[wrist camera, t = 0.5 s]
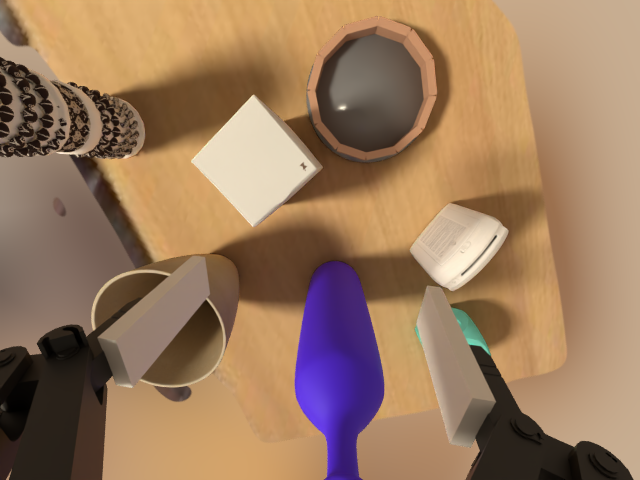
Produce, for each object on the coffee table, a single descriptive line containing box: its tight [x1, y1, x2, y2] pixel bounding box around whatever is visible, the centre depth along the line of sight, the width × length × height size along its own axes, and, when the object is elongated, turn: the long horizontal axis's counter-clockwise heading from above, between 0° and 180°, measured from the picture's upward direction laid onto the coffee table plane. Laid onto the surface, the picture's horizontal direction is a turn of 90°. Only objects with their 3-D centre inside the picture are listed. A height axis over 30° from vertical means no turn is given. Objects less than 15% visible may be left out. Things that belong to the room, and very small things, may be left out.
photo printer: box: [410, 203, 509, 291], centre depth 36 cm, size 10×4×12 cm, turn 145°
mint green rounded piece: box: [415, 308, 491, 356], centre depth 42 cm, size 8×8×8 cm
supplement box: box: [191, 95, 323, 227], centre depth 32 cm, size 9×9×15 cm
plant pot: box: [91, 254, 239, 387], centre depth 37 cm, size 15×15×16 cm
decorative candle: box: [0, 57, 146, 159], centre depth 27 cm, size 9×9×25 cm
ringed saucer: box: [307, 16, 437, 162], centre depth 35 cm, size 17×17×3 cm
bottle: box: [295, 261, 384, 480], centre depth 30 cm, size 8×8×30 cm
